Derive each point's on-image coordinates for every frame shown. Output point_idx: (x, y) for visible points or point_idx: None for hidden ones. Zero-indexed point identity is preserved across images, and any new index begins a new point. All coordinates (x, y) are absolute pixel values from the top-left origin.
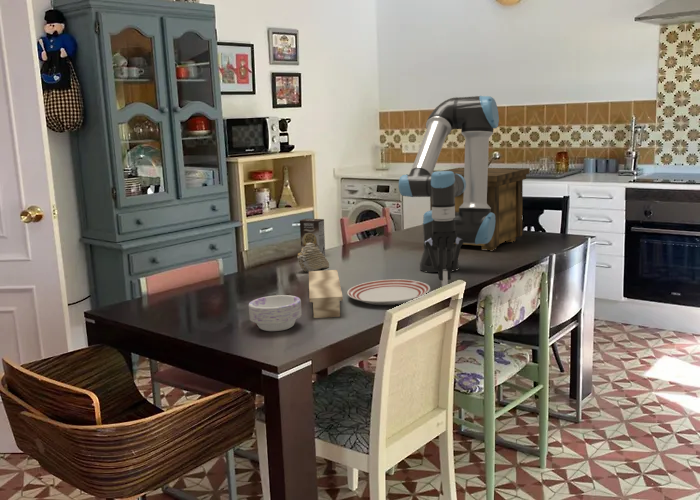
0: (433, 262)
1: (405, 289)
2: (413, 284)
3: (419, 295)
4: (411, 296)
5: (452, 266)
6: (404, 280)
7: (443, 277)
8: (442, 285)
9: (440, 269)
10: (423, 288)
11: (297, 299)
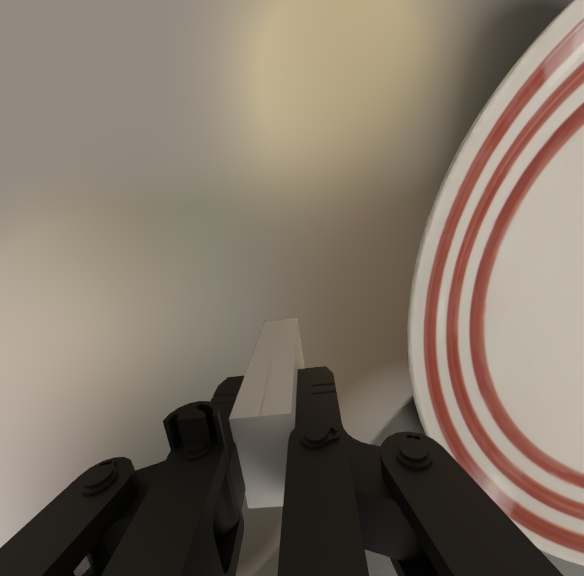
0: (523, 566)
1: (553, 416)
2: (500, 471)
3: (503, 193)
4: (551, 229)
5: (128, 489)
6: (561, 544)
7: (290, 368)
8: (301, 361)
9: (328, 433)
10: (447, 357)
11: None
